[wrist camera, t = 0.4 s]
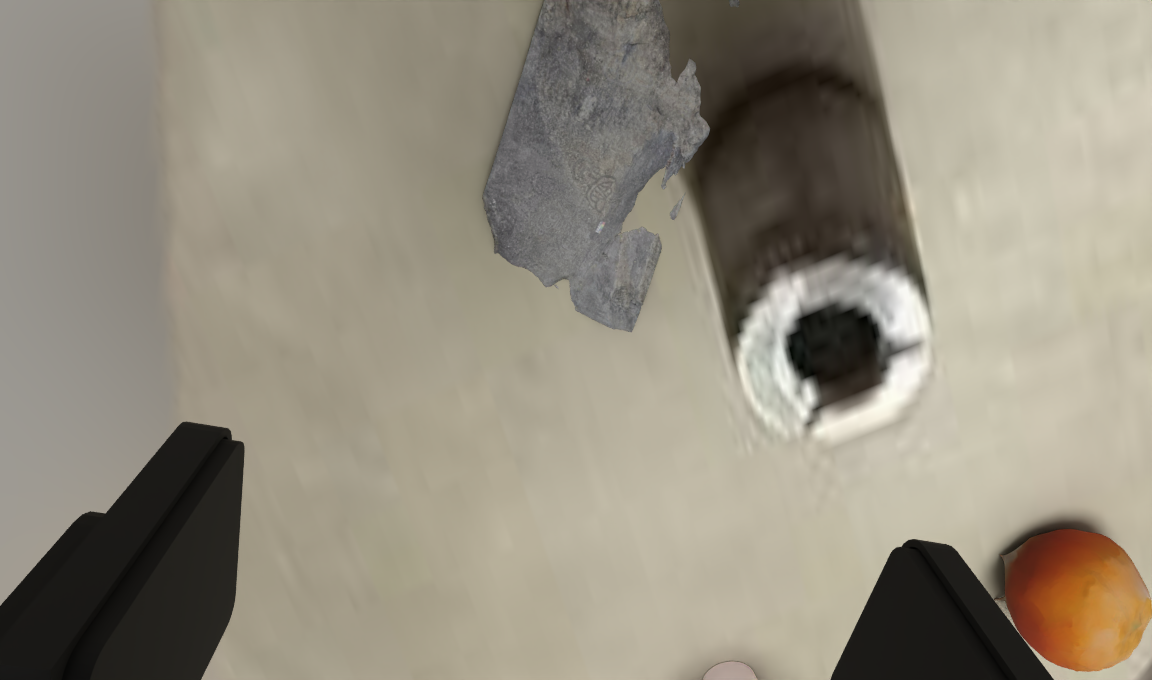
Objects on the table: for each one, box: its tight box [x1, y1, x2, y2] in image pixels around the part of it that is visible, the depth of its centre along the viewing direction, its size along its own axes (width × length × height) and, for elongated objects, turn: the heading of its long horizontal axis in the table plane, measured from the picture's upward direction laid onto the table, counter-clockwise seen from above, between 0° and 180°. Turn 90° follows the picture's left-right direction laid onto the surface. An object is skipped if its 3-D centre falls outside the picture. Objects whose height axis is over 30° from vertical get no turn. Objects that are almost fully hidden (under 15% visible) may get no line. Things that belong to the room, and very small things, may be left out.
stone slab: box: [482, 0, 739, 332], centre depth 38 cm, size 18×2×10 cm
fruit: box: [994, 529, 1152, 672], centre depth 47 cm, size 8×8×8 cm
